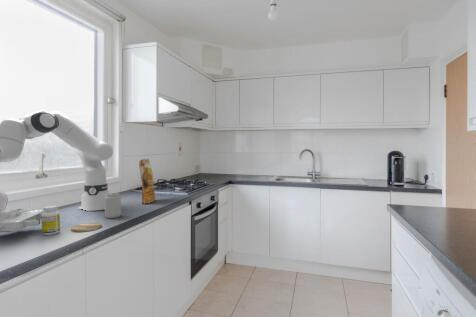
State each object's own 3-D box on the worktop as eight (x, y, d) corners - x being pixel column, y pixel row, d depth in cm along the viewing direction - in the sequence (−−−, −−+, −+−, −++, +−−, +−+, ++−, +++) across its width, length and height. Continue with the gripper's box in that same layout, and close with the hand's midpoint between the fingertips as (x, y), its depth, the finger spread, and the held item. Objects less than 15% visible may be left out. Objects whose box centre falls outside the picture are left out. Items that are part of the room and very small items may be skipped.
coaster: (77, 225, 127) (77, 223, 126) (105, 223, 129) (105, 221, 129) (66, 232, 115) (66, 231, 115) (97, 231, 117) (97, 229, 117)
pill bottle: (52, 230, 119) (51, 204, 118) (63, 231, 117) (62, 205, 116) (38, 234, 113) (37, 207, 112) (50, 236, 111) (49, 208, 110)
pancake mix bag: (136, 205, 171) (135, 159, 170) (149, 199, 190) (148, 158, 189) (146, 205, 170) (145, 159, 169) (158, 199, 189) (158, 158, 188)
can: (118, 218, 138) (118, 194, 138) (102, 219, 137) (102, 195, 137) (122, 214, 146) (122, 192, 145) (107, 215, 144) (106, 192, 144)
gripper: (-11, 219, 101) (30, 217, 104) (22, 207, 122) (56, 206, 124) (-11, 236, 102) (31, 234, 104) (22, 222, 122) (57, 220, 124)
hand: (45, 219), depth 114 cm, fingers open, 8 cm apart
